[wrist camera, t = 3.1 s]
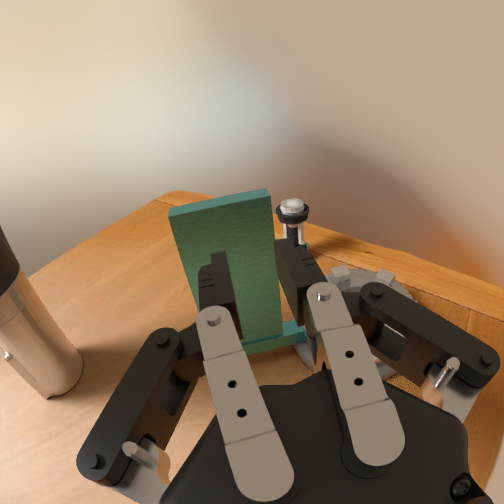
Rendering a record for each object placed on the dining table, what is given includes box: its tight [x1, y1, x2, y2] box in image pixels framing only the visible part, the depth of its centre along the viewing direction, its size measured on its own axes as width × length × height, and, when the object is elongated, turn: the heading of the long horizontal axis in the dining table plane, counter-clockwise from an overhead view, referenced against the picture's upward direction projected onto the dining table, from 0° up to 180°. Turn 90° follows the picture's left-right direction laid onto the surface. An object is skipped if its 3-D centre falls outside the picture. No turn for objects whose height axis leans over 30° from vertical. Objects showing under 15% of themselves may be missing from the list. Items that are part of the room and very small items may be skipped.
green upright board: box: [168, 188, 418, 367], centre depth 29 cm, size 26×15×19 cm, turn 101°
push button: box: [276, 199, 309, 250], centre depth 49 cm, size 7×5×10 cm
